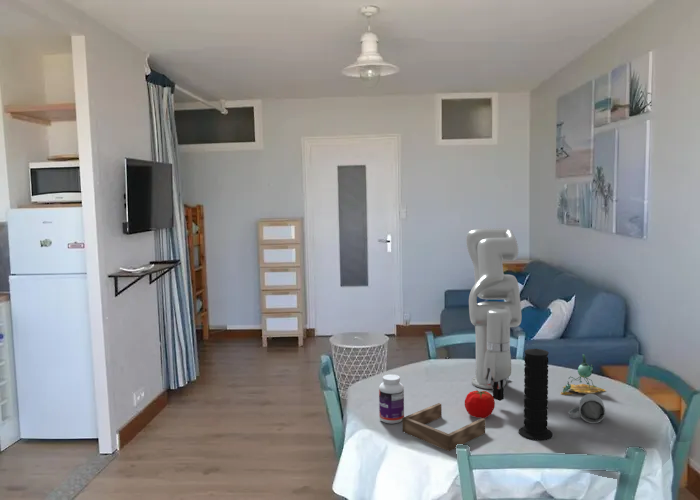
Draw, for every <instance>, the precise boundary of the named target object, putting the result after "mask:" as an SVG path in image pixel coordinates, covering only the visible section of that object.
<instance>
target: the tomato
mask: <svg viewBox="0 0 700 500" xmlns="http://www.w3.org/2000/svg"><path fill="white" fill-rule="evenodd" d="M495 401H496V400H495V399H494V397H493V394H491V393H490V392H488V391H487V390H478V389H476V390H472V391H469V393H468V394H466V397H465V399H464V407H465V410H466V412H467V414H468V415H469V416H471V417H473V418H477V419H481V418H483V419H487V418H488V417H489V416H492V413H493V412H494V409H495V406H496V403H495Z"/></svg>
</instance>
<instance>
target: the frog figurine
mask: <svg viewBox="0 0 700 500" xmlns="http://www.w3.org/2000/svg"><path fill="white" fill-rule="evenodd" d="M593 368H594V364H592V363H591V364H590V365H589V364H588V363H587V359H586V354H584V353H582V361H581V363H580V364H579V366H578V368H577V374H578V375H579V377H577V378H575V377H573V376H569V377H568V381H567V384H565V385H564V386H563V387H562V392H561V391H560V395H563V396H568V395H574V394H575V393H574V392H577V393H578V394H585V395H587V394H597V393H601V392H606V389H605V388H601V387H598V386H597V385H595V384H594V383H593V380H592V379H590V377H591V376H592V374H593V373H594V370H593ZM570 378H572V380H571V381H570V382H569V379H570ZM582 378H583V379H584V381H585V382H586V383H585V384H584V383H583V381H582ZM573 380H574V381H577V380H578V381H579V383H580V384H572V382H573ZM589 381H591V384H592V385H591V384H590V382H589ZM570 383H571V384H570ZM569 390H570V391H572V392H570V391H569Z"/></svg>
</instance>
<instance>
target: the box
mask: <svg viewBox="0 0 700 500" xmlns="http://www.w3.org/2000/svg"><path fill="white" fill-rule="evenodd" d="M442 410H443V409H442V403H439V402H438V403H435V404H433V405H430V406H428V407H426V408H423V409H420V410H417V411H416V412H414V413H412V414H411V413H410V414H408V415H406V416H404V417H403V418H402V421H401V424H402V425H401V426H402V433H404V432H405V434H406V433H407V435H409V436H411V435H412V437H414V438H417V439H419V440H421V441H423V442H425V443H428V444H430V445H432V446H436V447H438V448H440V449H442V450H444V451H447V452H451V451H452V450H455V449H456V448H455V447H456V445H457V444H463V445H465V444H467V443H469V442H471V441H473V440H476V439H477V438H479V437H480V436H483V435H484V434H486V418H478V419H477V420H475V421H473V422H470V423H469V424H466V425H465V426H462V427H460V428H458V429H456V430H454V431H452V432H450V433H448V432H445V431H443V430H440V429H436V428H435V427H432V426H429V425H427V424H430V423H432V422H434V421H437V420H438V419H441V418H442Z"/></svg>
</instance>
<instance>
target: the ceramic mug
mask: <svg viewBox="0 0 700 500" xmlns="http://www.w3.org/2000/svg"><path fill="white" fill-rule="evenodd" d="M568 415H569V416H570V418H573V419H575V418H580V417H581V419H582V420H583V421H585V422H587V423H589V424H598V423H600V422H602V421H603V420H604V418H605V417H606V408H605V404H604V401H603V399H601V397H599V396H598V395H597V394H595V393H593V394H585V395H583V396H582V397H581V399H580V400H579V405H578V406H576V407H573V408H572V409H571V408H570V409H569V411H568Z"/></svg>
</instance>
